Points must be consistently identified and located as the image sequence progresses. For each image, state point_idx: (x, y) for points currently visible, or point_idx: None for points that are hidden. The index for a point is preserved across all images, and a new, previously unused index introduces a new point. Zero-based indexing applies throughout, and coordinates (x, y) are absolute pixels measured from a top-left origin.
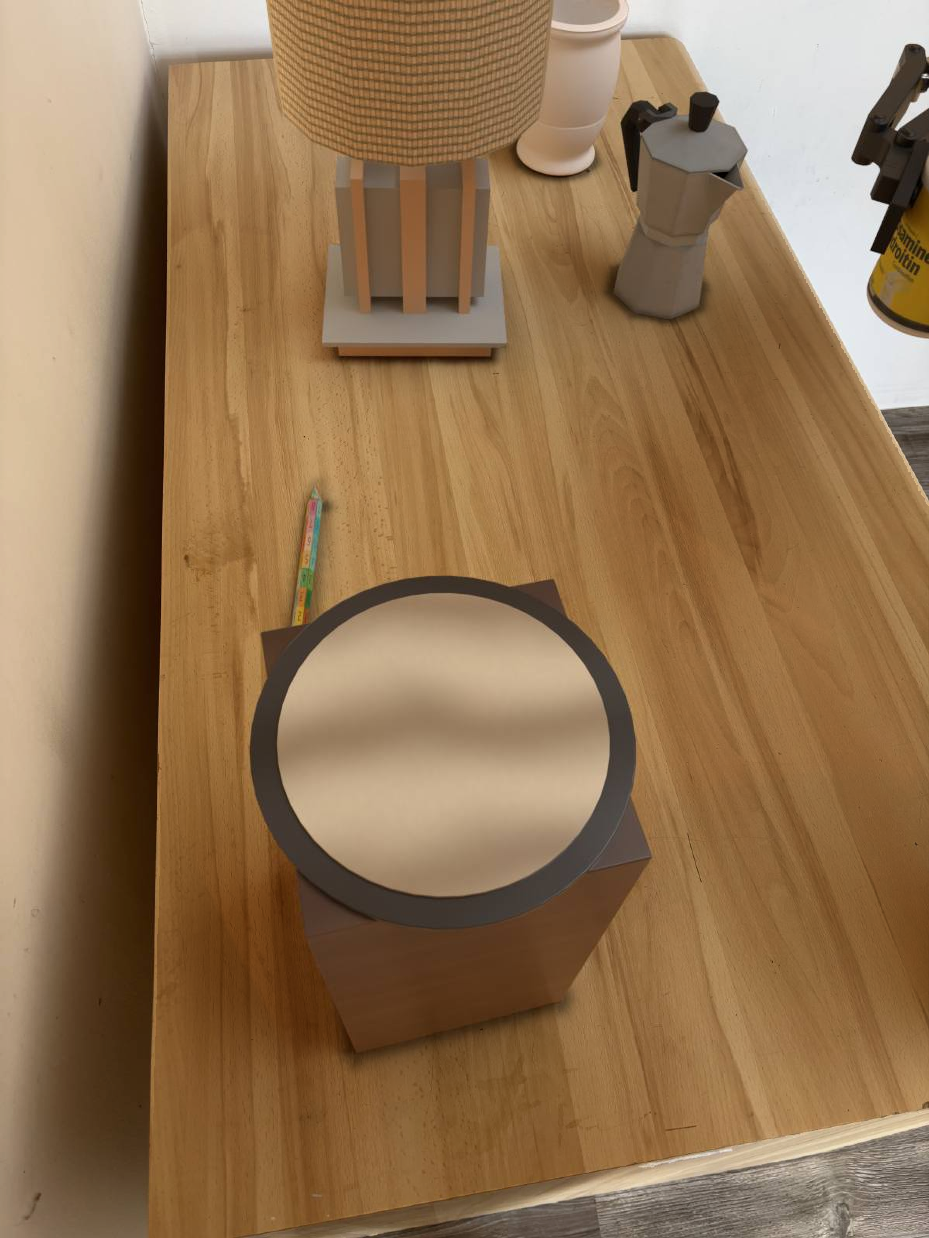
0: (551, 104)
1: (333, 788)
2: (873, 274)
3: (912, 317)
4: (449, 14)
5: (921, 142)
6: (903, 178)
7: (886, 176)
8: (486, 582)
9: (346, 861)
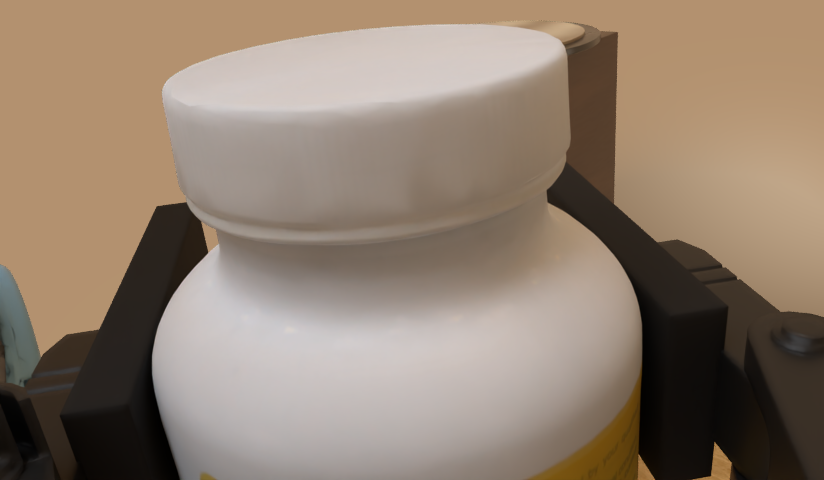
0: None
1: (511, 24)
2: None
3: None
4: None
5: (703, 301)
6: (597, 192)
7: (665, 242)
8: None
9: (481, 23)
